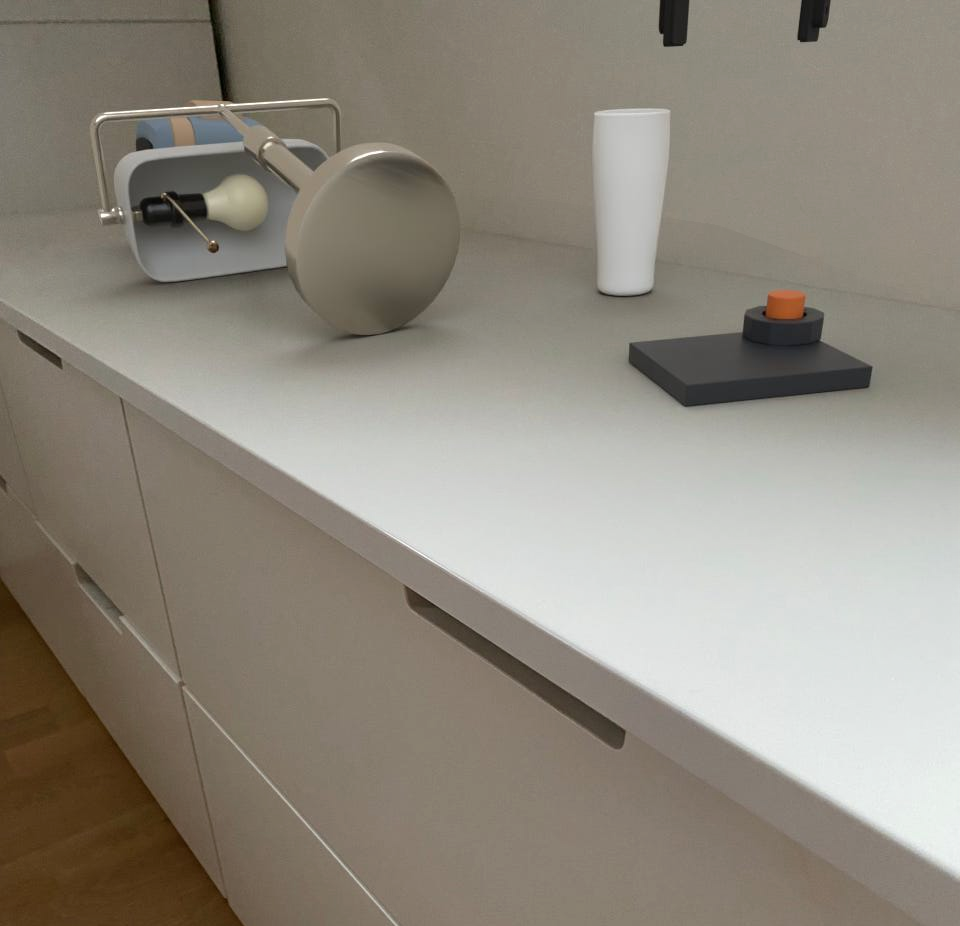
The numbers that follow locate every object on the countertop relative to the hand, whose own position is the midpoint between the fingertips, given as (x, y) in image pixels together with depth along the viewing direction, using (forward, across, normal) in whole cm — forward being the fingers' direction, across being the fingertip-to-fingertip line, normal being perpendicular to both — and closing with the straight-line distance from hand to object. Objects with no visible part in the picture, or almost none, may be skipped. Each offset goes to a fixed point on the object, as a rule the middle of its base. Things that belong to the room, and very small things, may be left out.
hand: (739, 44), depth 70 cm
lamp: (+20, +40, +4) cm, 45 cm away
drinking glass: (+20, +12, -10) cm, 25 cm away
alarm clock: (+20, +71, -19) cm, 76 cm away
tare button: (+17, -7, +6) cm, 20 cm away
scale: (+20, -6, +12) cm, 24 cm away
